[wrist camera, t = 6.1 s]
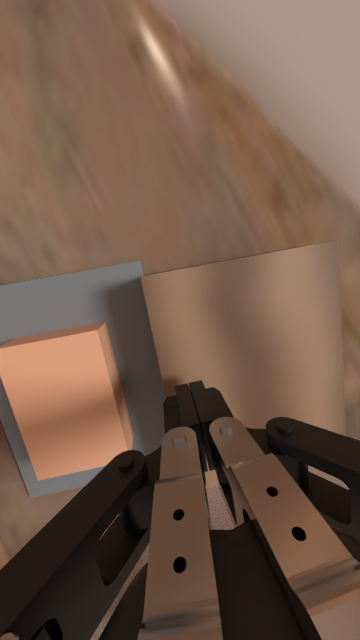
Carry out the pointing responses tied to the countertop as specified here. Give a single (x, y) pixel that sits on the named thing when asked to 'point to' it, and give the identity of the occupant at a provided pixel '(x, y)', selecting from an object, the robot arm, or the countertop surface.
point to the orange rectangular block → (67, 399)
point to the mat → (127, 342)
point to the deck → (256, 334)
